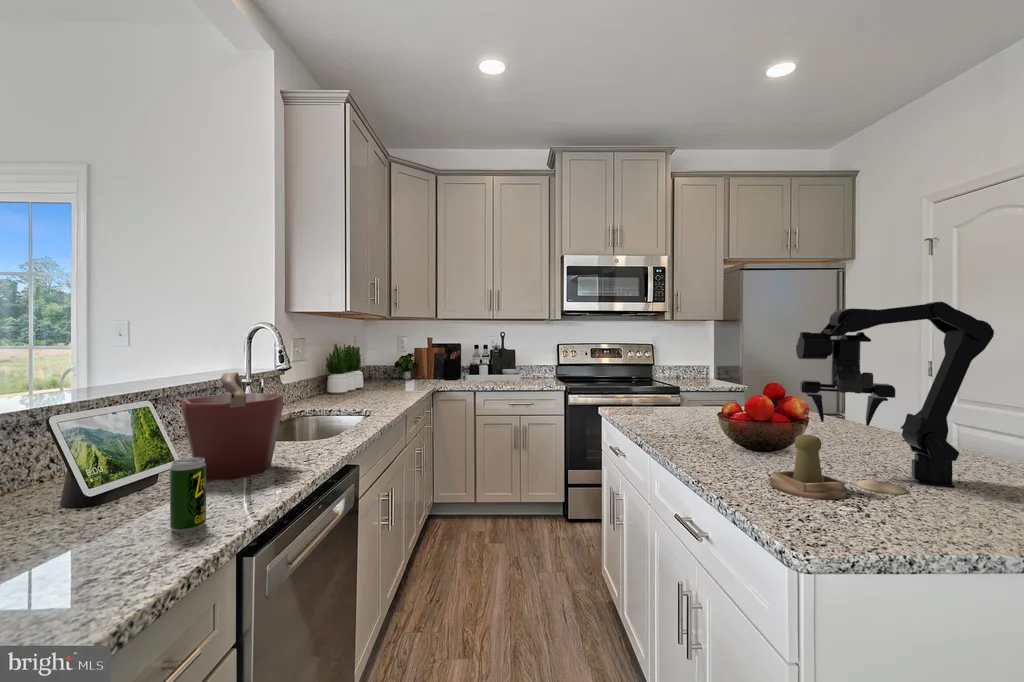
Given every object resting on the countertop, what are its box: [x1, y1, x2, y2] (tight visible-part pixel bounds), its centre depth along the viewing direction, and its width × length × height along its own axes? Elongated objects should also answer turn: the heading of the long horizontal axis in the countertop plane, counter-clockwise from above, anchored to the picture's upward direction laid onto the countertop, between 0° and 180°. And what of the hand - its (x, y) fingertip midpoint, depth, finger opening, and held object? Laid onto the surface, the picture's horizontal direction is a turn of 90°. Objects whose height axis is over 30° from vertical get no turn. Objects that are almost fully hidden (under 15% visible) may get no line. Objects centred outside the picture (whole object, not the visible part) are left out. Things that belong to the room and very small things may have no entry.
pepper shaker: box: [793, 434, 823, 483], centre depth 109 cm, size 6×6×11 cm
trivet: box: [769, 470, 848, 500], centre depth 109 cm, size 15×15×3 cm
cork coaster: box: [856, 479, 907, 495], centre depth 110 cm, size 9×9×1 cm
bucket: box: [181, 372, 284, 481], centre depth 122 cm, size 24×22×25 cm
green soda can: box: [169, 457, 207, 534], centre depth 86 cm, size 5×5×12 cm
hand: (844, 423), depth 119 cm, fingers open, 9 cm apart
